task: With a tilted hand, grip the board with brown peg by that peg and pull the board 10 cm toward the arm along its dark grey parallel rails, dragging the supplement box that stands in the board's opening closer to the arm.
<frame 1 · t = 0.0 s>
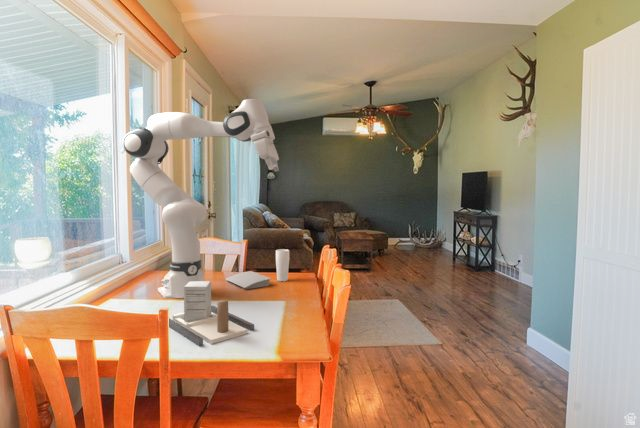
hand: (274, 170, 150), 52 cm above the table, tool tilted 20°, fingers open, 8 cm apart
board with brown peg: (208, 311, 118), point 5 cm above the table, slide at 0.0 cm, touching supplement box
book: (249, 284, 176), on the table
supplement box: (198, 321, 123), resting in board with brown peg
dark grey parallel rails: (206, 326, 119), on the table
drinking glass: (282, 280, 182), on the table
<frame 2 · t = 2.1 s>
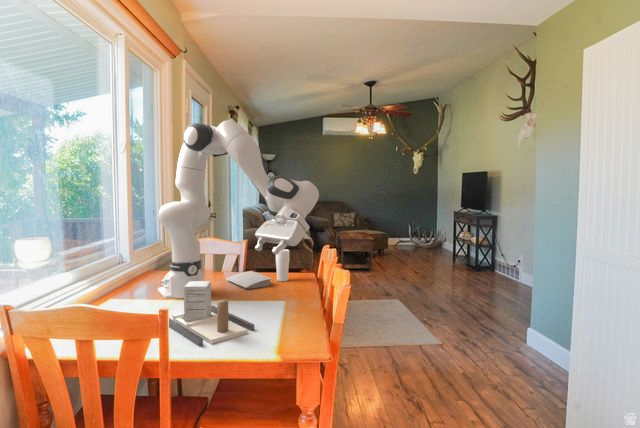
hand: (265, 251, 121), 24 cm above the table, tool tilted 45°, fingers open, 8 cm apart
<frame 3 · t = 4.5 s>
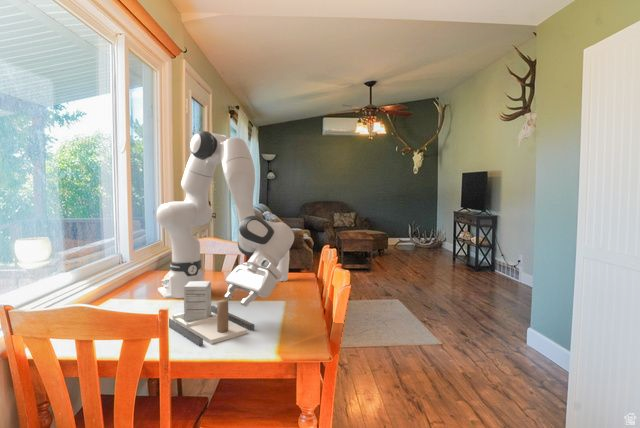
hand: (234, 301, 114), 9 cm above the table, tool tilted 45°, fingers open, 8 cm apart
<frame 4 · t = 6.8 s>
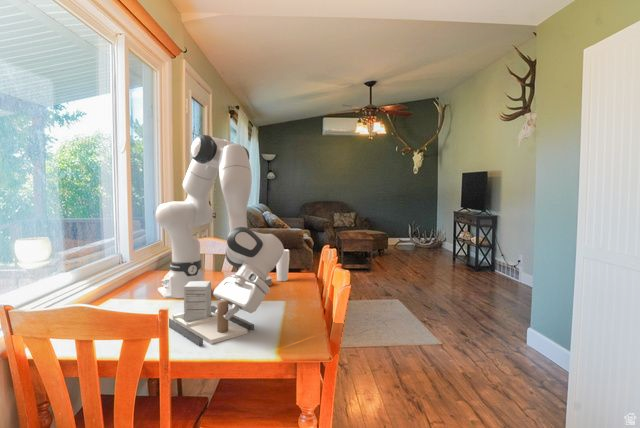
hand: (220, 316, 111), 6 cm above the table, tool tilted 45°, fingers closed on board with brown peg, 3 cm apart
board with brown peg: (208, 310, 118), point 5 cm above the table, slide at 0.0 cm, touching gripper, supplement box
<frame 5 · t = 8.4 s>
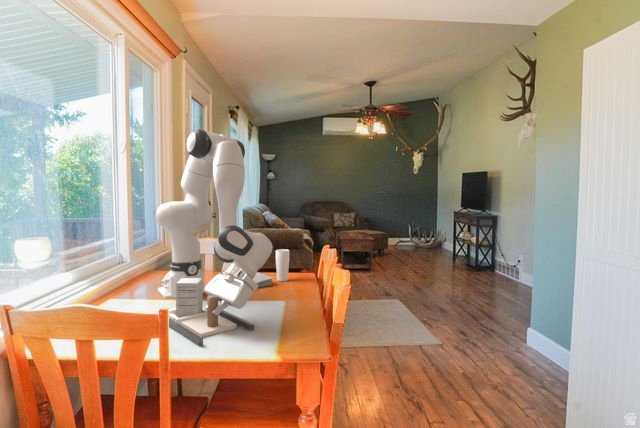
hand: (210, 312, 115), 6 cm above the table, tool tilted 45°, fingers closed on board with brown peg, 3 cm apart
board with brown peg: (199, 306, 122), point 5 cm above the table, slide at 6.2 cm, touching gripper, supplement box
supplement box: (189, 317, 127), resting in board with brown peg
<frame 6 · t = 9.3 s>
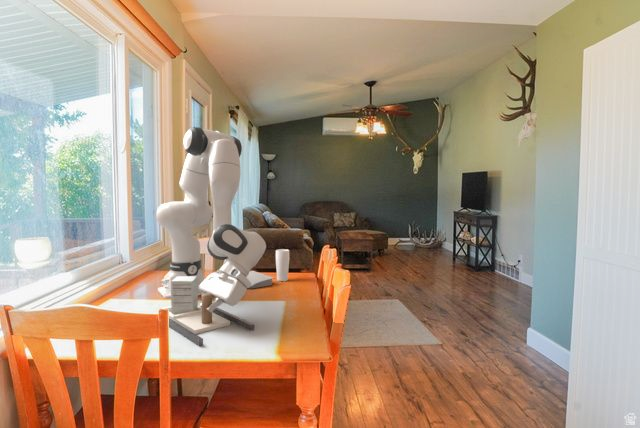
hand: (204, 309, 118), 6 cm above the table, tool tilted 45°, fingers closed on board with brown peg, 3 cm apart
board with brown peg: (194, 304, 125), point 5 cm above the table, slide at 10.0 cm, touching gripper, supplement box
supplement box: (185, 314, 130), resting in board with brown peg
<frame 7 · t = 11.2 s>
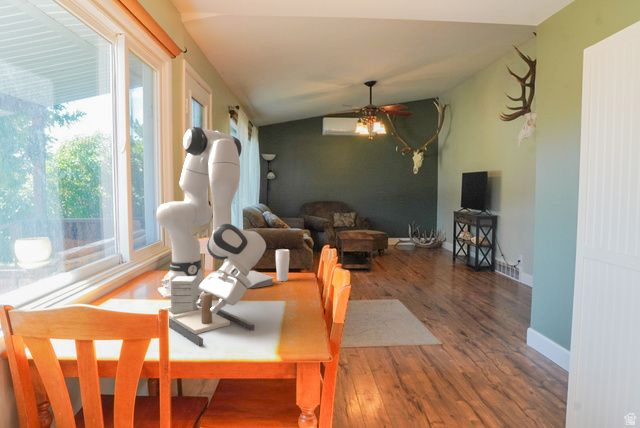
hand: (204, 308, 118), 6 cm above the table, tool tilted 45°, fingers open, 8 cm apart
board with brown peg: (193, 303, 125), point 5 cm above the table, slide at 10.1 cm, touching supplement box
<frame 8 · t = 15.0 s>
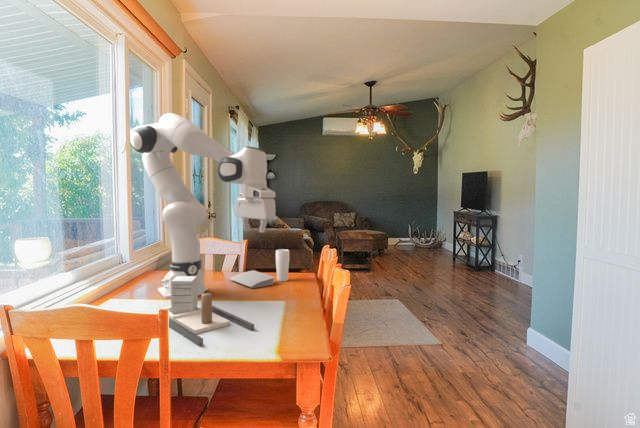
hand: (254, 231, 133), 29 cm above the table, tool pointing down, fingers open, 8 cm apart
at the end: board with brown peg slide at 10.1 cm; supplement box moved 10.1 cm from its start; supplement box tilted 0° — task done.
